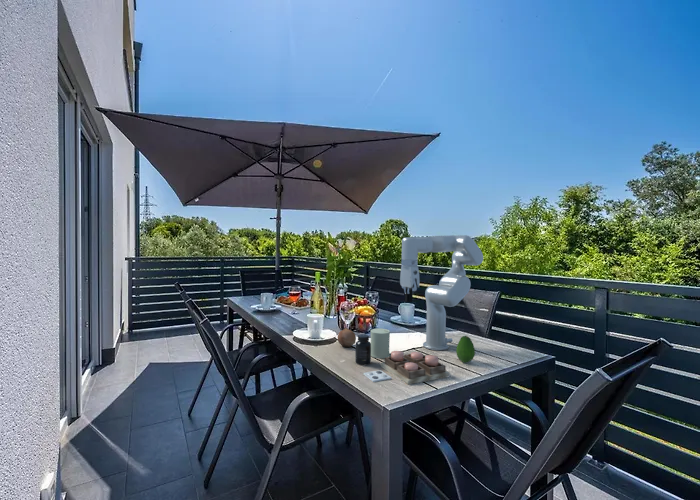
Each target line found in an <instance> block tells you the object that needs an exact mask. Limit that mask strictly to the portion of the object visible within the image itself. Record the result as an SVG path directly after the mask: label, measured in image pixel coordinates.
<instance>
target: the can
mask: <svg viewBox="0 0 700 500" xmlns="http://www.w3.org/2000/svg"><path fill="white" fill-rule="evenodd" d="M390 333H391V331H390V330H389V329H386V328H379V327H378V328H373V329H370V343H371V358H375V359H385V358H386V357H391V354H390V338H391V337H390Z"/></svg>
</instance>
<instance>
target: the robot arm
mask: <svg viewBox="0 0 700 500" xmlns="http://www.w3.org/2000/svg"><path fill="white" fill-rule="evenodd" d="M430 252H431V253H448V252H453V253H452V255H451V268H450V269H449V270H448V271H447V272H446V273H445V274H444V275H443V276H442V277H440V280H439V283H438V284H433V285H429V286H428V287H427V288H426V289H425V292H424V293H425V294H424V297H425V301H426V302H425V304H426V325H425V326H426V331H425V332H426V333H425V334H426V336H425V338H426V339H425V341H424V342H423V343H422V347H423V348H426V349H428V350H431V351H432V350H433V351H446V350H448V349H449V345H448V343H452V342H453V338H451V337H449V338H447V337H446V325H447V324H446V322H447V313H446V312H447V311H446V308H445V307H449V308H451V307H455V306H457V305H458V304H459V303H460V302H461V301H462V300H463V299H464V297H466V295H468V293H469V291H470V290H471V289H470V288H471V286H472V285H471V280H470V279H469V277H468V276H467V273H466V270H465V266H480V265H481V264H482V263H483V261H484V255H483V252H482V250H481V249H480V247H479V246H478V244H477V242H476V241H475V240H474V239H473V238H472V237H471V236H469V235H467V234H466V235H463V234H459V235H457V234H456V235H454V234H453V235H434V236H433V235H432V236H422V237H421V236H418V237H416V236H414V237H413V236H411V237H409V236H408V237H403V238H402V239H401V267H400V276H399V282H400V283H399V284H400V286H401V288H402V289H403V292H404V302H405V303H413V295H414V292H416V291H417V289H418V288H420V271H419V266H418V260H419V259H418V258H419V257H418V255H419V254H428V253H430Z"/></svg>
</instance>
